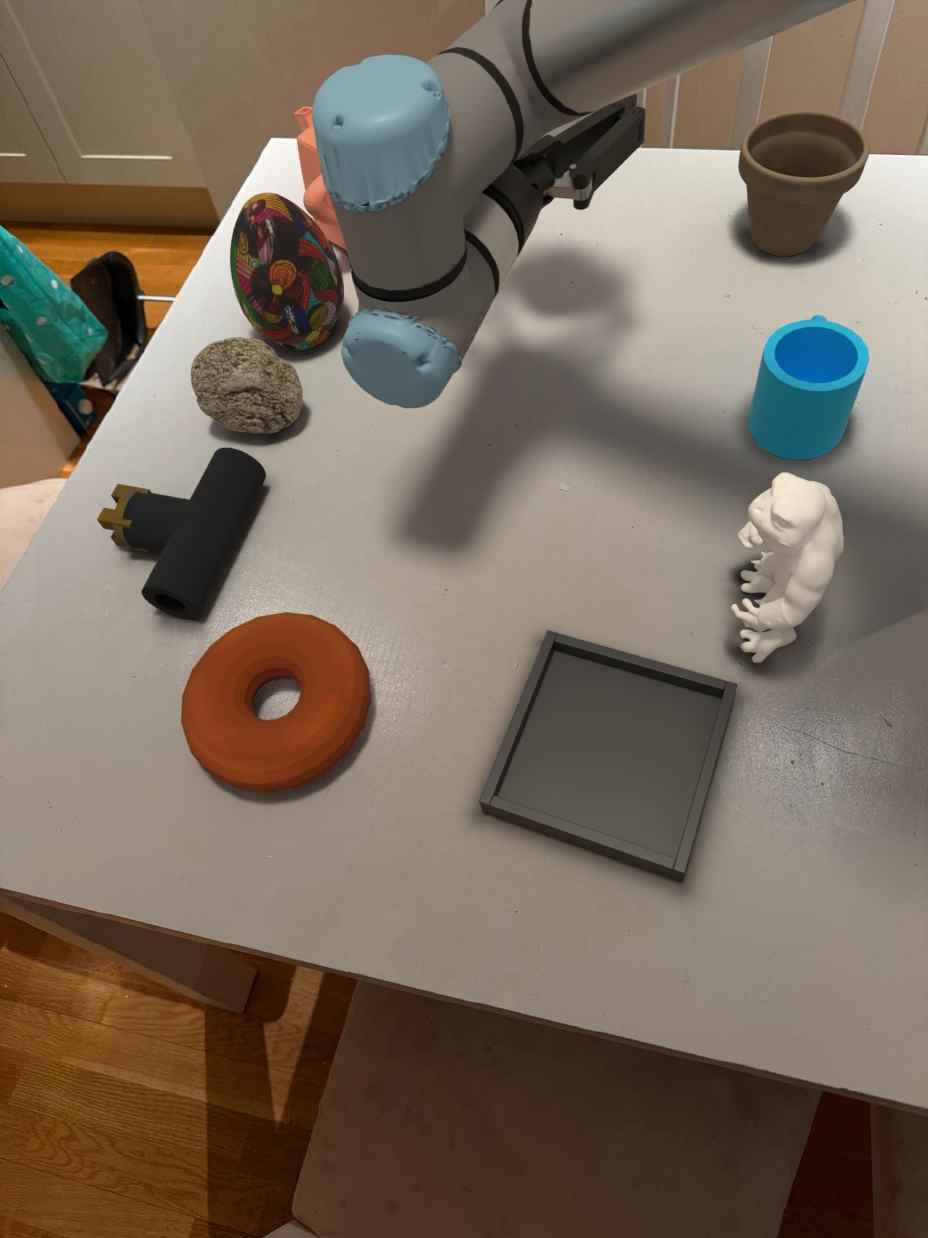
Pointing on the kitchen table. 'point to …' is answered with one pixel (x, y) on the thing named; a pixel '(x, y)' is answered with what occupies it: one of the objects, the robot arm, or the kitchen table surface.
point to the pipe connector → (187, 529)
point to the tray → (611, 753)
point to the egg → (285, 272)
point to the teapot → (315, 180)
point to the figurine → (788, 559)
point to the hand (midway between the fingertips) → (571, 63)
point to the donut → (294, 741)
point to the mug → (807, 388)
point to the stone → (246, 386)
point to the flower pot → (798, 176)
